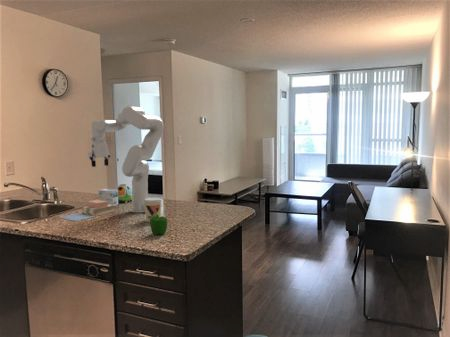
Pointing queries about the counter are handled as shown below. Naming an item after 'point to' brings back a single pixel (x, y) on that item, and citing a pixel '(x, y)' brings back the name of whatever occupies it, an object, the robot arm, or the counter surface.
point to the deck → (97, 210)
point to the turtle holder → (124, 192)
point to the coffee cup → (152, 207)
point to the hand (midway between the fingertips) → (100, 166)
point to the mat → (76, 217)
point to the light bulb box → (109, 196)
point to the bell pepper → (158, 224)
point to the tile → (97, 203)
